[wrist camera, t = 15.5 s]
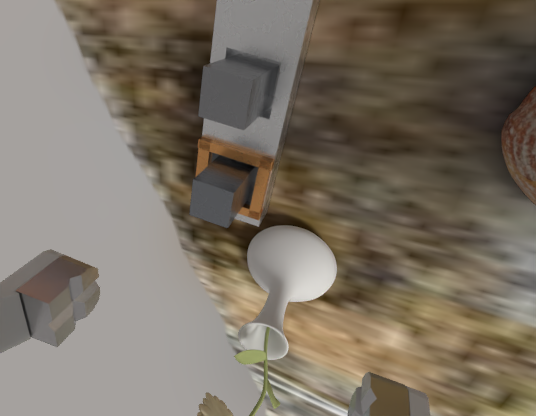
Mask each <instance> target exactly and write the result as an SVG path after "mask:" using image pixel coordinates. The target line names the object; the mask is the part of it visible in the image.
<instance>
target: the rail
mask: <svg viewBox="0 0 536 416" xmlns="http://www.w3.org/2000/svg"><path fill="white" fill-rule="evenodd" d="M319 1H320V0H217V4H216V13H215V22H214V31H213V41H212V50H211V59H210V63H213V62H216V61H219V60H222V59H225V58H228V57H231V56H234V55H237V54H243V55H246V56H250V57H253V58H257V59H260V60H264V61H268V62H271V63H275V64H278V65H279V69H278V74H277V78H276V83H275V88H274V93H273V97H272V102H271V107H270V108H268V109H267V110H266V111H265V112H264V113H263V114H262V115H261V116H259V117H258V118H257V119H256V120H255V121H254V122H253V123H252V124H251V125H249V126H248V127H247V128H246V129H245V130H241V129H237V128H234V127H231V126H228V125H225V124H221V123H218V122H215V121H212V120H208V119H205V118H204V123H203V132H202V137H200V138H199V140H198V148H199V149H198V158H197V168H196V176H197V175H198V174H200V173H201V172H202V171H203V170H204V169H205V168H206V167H207V166H208V165H209V164H210V163H212V162H213V161H214V160H215V159H216V158H217V157H218V156H219V155H222V156H225V157H228V158H231V159H234V160H237V161H240V162H243V163H246V164H250V165H253V166H256V167H259V168H258V172H257V177H256V182H255V186H254V191H253V193H252V194H251V195H250V197H249V198H248V200H247V201H246V203H245V204H244V205H243V207H242V208H241V210H240V211H239V213H238V214H237V216H236V217H235V218H234V219H237V220H240V221H243V222H246V223H249V224H252V225H255V226H258V227H259V226H260V224H261V222H262V220H263V218H264V217H265V215H266V213H267V211H268V207H269V203H270V199H271V195H272V191H273V187H274V183H275V178H276V174H277V170H278V166H279V162H280V158H281V154H282V150H283V146H284V142H285V138H286V134H287V130H288V126H289V122H290V118H291V114H292V110H293V106H294V102H295V98H296V94H297V90H298V86H299V82H300V78H301V74H302V70H303V66H304V62H305V58H306V54H307V50H308V46H309V42H310V38H311V34H312V30H313V25H314V21H315V17H316V13H317V9H318V5H319Z"/></svg>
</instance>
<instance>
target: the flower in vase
mask: <svg viewBox="0 0 536 416" xmlns="http://www.w3.org/2000/svg"><path fill="white" fill-rule="evenodd" d="M247 262H248V267H249V271H250V273H251V275H252V277H253V278H254V280H255V281H256V282H257V283H258V284H259V286H260V287H261V288H262V289H264V290H265V291H266V292H267V293H269V295H268V298H267V301H266V303H265V305H264V307H263V309H262V311H261V312H260V314H259V315H258V316H257V318H256V319H255V320H253V321H252V322H249V323H247V324H245V325H243V326H242V327H241V328H240V330H239V333H238V337H239V341H240V343H241V344H242V346H243V347H244V348H245V349H246V351H243V352H240V353H238V354H237V355H235V356H234V357H235V358H236V360H237V361H238V362H240V363H241V364H253V363H257V362H261V361H264V385H263V391H262V394H261V397H260V399H259V401H258V402H257V404H256V406H255V407H254V409H253V411H252V412H251V414H250V415H249V416H254V415H255V413H256V412H257V410H258V409H259V407H260V405H261V403H262V401H263V399H264V397H265V394H266V389H267V392H268V394H269V397H270V400H271V402H272V405H273V408H274V409H275V408H277V407H278V406H279V405H280V403H279V401H278V400H277V399H276V398H275V396H274V394H273V391H272V388H271V385H270V383H269V380H268V379H267V377H268V369H267V360H275V359H279V358H282V357H283V356H285V355H286V354H287V352H288V342H287V339H286V337H285V335H284V333H283V319H284V313H285V309H286V306H287V304H288V301H291V302H301V301H309V300H312V299H315V298H317V297H319V296H321V295H323V294H324V293H325V292H326V291H327V290H328V289H329V288H330V287H331V285H332V284H333V282H334V280H335V277H336V273H337V265H336V260H335V257H334V255H333V253H332V251H331V249H330V248H329V247H328V245H327V244H326V243H325V242H324V241H323V240H322V239H321V238H319V237H318V236H317V235H315V234H314V233H312V232H310V231H308V230H306V229H303V228H300V227H296V226H289V225H279V226H273V227H270V228H267V229H264V230H262V231H261V232H259V233H258V234H257V235H256V236H255V237H254V238H253V239H252V241H251V242H250V244H249V247H248V252H247ZM199 410H200V412H199V413H198V414H197V416H233V414H232V412H231V411H230V410H229V409H227V406H226V405H225V403H224V402H223V401H222V400H219V399H218V398H217V397H216V396H214V397H213V396H212V395H211V394H210V393H206V398H203V404H199Z"/></svg>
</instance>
